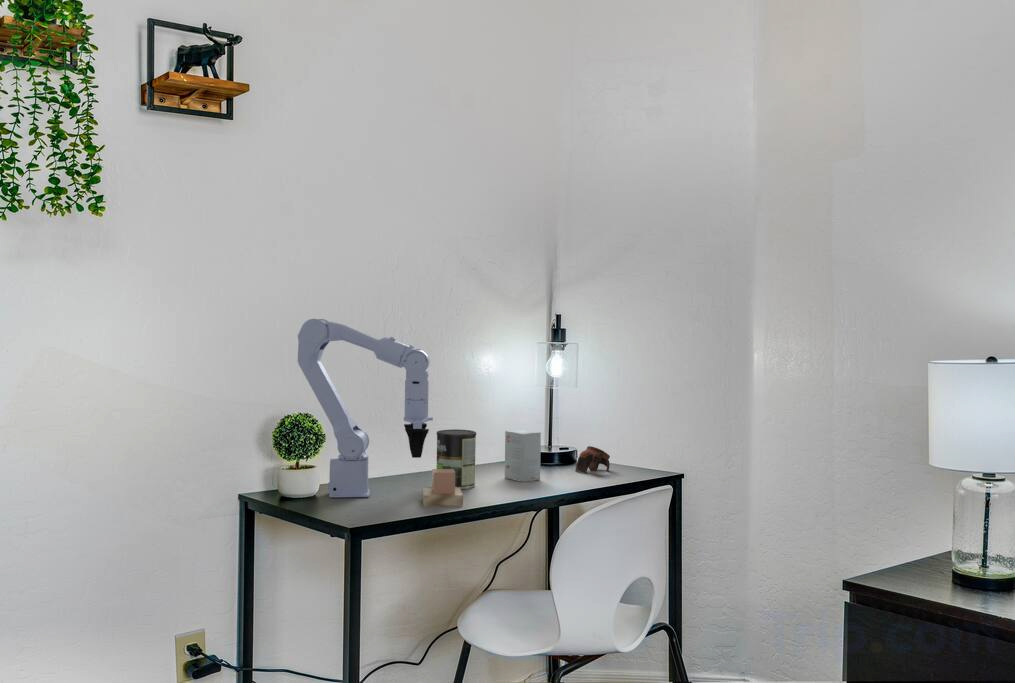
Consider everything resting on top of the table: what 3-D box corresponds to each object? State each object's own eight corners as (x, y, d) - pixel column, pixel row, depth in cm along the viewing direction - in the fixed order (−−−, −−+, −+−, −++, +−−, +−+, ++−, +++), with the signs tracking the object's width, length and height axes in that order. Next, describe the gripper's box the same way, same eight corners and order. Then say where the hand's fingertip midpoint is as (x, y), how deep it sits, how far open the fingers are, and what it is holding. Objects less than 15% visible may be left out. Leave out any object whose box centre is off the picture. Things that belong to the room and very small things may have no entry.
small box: (540, 480, 235) (541, 432, 235) (522, 482, 231) (523, 433, 231) (521, 475, 242) (522, 429, 241) (503, 478, 238) (504, 430, 237)
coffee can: (442, 490, 218) (443, 434, 218) (431, 483, 228) (431, 429, 228) (481, 488, 222) (481, 433, 222) (468, 481, 231) (469, 428, 231)
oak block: (423, 508, 199) (423, 495, 199) (422, 500, 208) (422, 488, 208) (462, 508, 201) (462, 495, 200) (459, 500, 209) (459, 487, 209)
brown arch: (569, 470, 254) (581, 445, 257) (598, 485, 255) (609, 460, 257) (578, 466, 243) (590, 440, 245) (608, 482, 243) (620, 455, 245)
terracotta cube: (433, 494, 201) (433, 472, 201) (431, 490, 206) (432, 469, 206) (454, 493, 202) (455, 472, 202) (452, 489, 207) (453, 468, 207)
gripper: (434, 402, 204) (434, 459, 205) (431, 396, 219) (430, 450, 219) (404, 402, 203) (404, 459, 204) (403, 396, 218) (402, 450, 218)
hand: (415, 455), depth 211 cm, fingers open, 7 cm apart
